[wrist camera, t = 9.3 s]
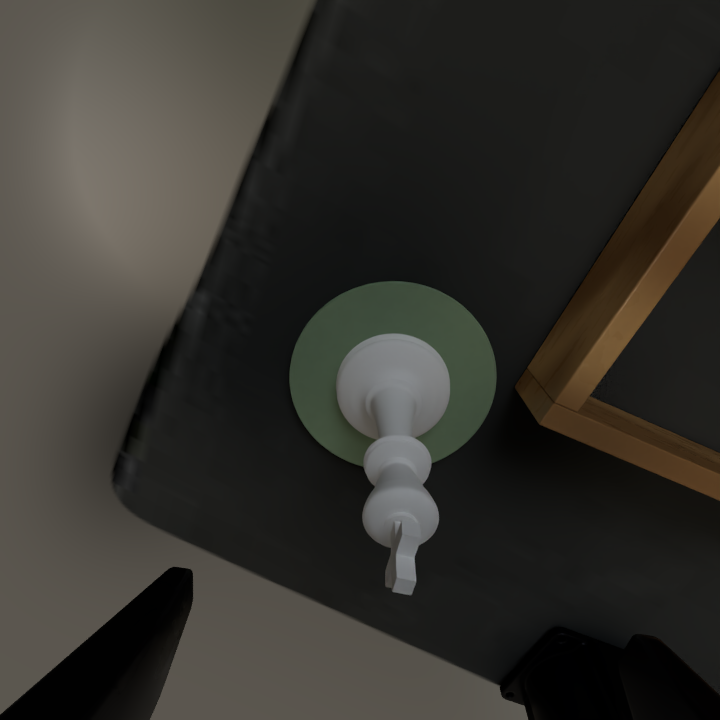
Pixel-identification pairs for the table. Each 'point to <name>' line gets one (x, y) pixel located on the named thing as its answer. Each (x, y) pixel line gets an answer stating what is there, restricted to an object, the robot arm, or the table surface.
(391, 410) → the chess piece
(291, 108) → the table surface
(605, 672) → the robot arm
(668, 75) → the table surface
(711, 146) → the wooden frame
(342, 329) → the felt coaster
